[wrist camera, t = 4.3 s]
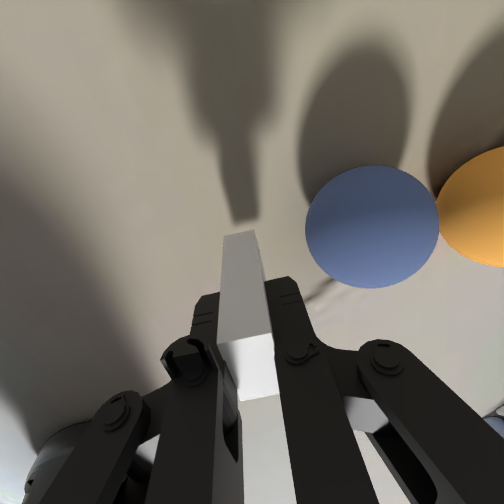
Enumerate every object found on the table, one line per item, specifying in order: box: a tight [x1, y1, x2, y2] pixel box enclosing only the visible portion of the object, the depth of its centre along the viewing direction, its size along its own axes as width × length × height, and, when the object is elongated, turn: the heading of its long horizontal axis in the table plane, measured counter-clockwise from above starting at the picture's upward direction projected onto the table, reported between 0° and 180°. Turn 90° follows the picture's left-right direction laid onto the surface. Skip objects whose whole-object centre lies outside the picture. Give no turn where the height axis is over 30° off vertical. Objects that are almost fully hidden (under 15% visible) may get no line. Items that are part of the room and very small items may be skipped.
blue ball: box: [305, 165, 440, 288], centre depth 12 cm, size 6×6×6 cm
